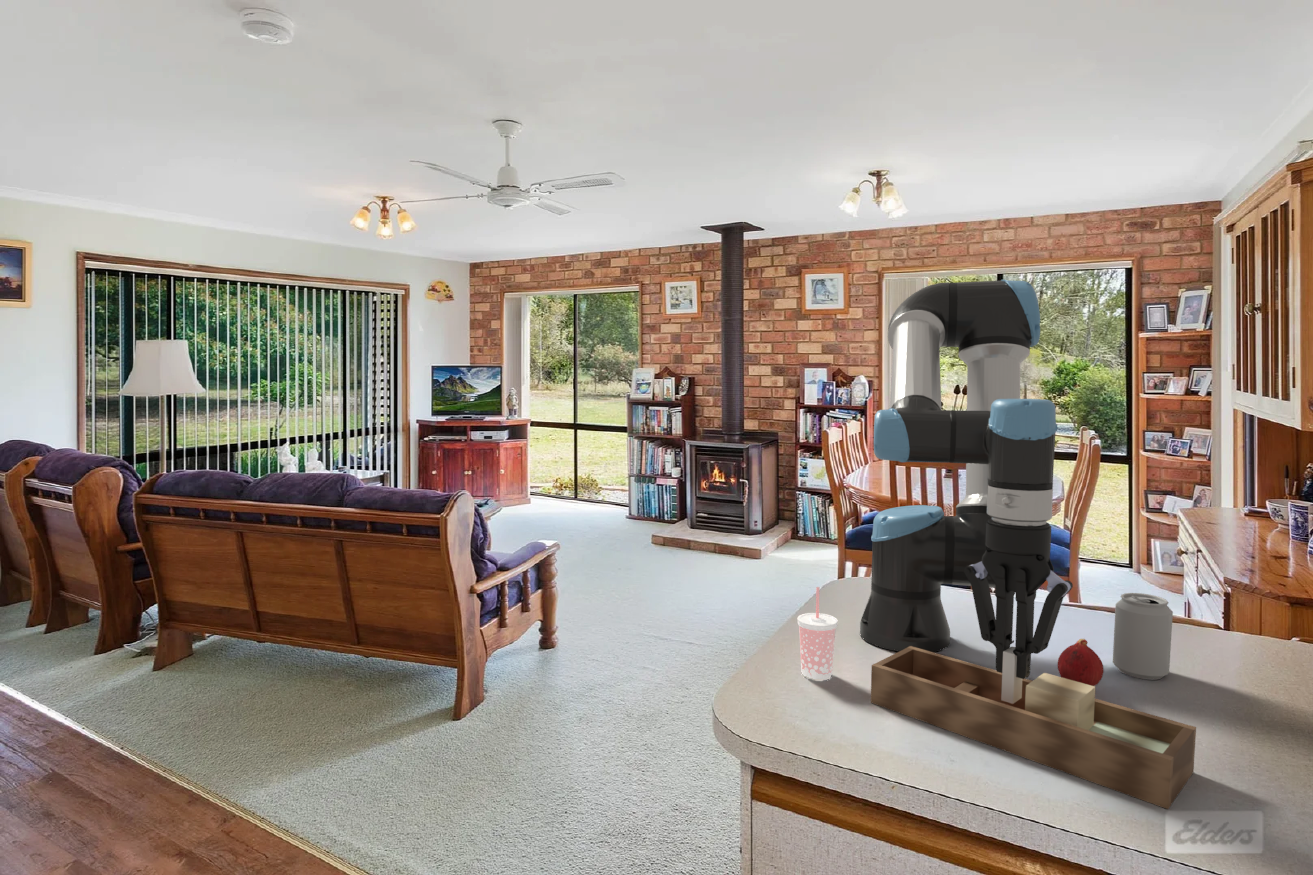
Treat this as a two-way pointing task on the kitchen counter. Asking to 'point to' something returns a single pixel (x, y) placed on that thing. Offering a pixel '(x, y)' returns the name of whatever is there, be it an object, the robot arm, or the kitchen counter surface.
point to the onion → (1080, 664)
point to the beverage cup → (817, 642)
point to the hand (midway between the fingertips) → (1011, 698)
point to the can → (1142, 636)
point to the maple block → (1061, 700)
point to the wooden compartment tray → (1039, 725)
